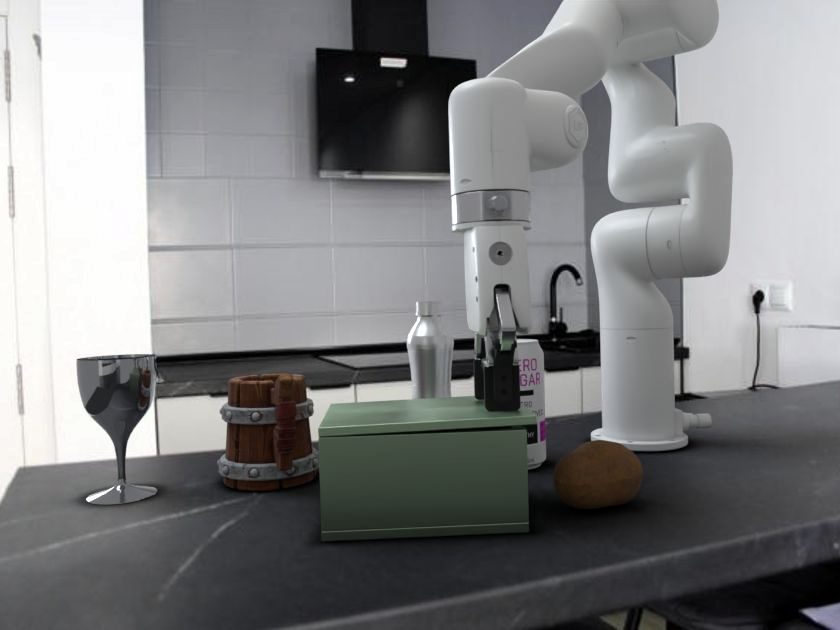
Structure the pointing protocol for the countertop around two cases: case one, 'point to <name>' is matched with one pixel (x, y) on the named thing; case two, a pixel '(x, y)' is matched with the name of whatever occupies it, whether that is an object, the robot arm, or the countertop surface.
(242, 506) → the countertop surface
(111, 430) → the wine glass
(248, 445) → the mug
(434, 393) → the silver metal bottle
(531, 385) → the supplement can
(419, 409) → the lid
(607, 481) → the potato
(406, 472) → the green box
